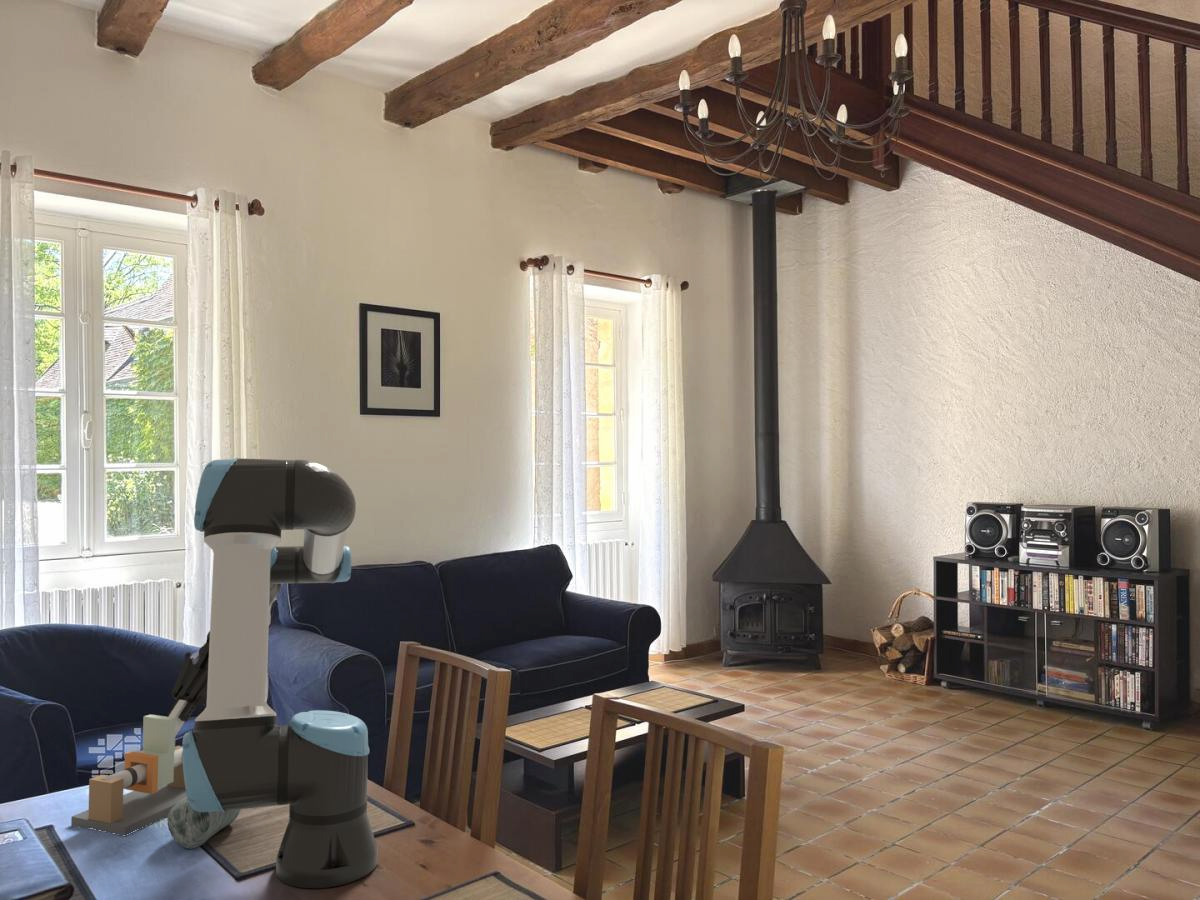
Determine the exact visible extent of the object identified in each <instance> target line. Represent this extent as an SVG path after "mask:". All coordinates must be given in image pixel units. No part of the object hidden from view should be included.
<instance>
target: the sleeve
mask: <svg viewBox="0 0 1200 900" xmlns="http://www.w3.org/2000/svg"><path fill="white" fill-rule="evenodd" d="M142 718H143V721H142V722H143V727H142V749H141V750H139V751H137V752H139V753H145V754H151V755H157V756H158V788H160V787H162V786H164V785H167V784H169V783H172V782H173V776H174V751H175V747H176V736H175V723H176V718H172V717H169V716H164V715H158V714H157V715H156V714H148V715H147V714H146V715H144V716H143V717H142ZM138 764H141V763H137V762H136V765H138ZM141 782H147V779H146V780H144V781H141Z"/></svg>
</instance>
